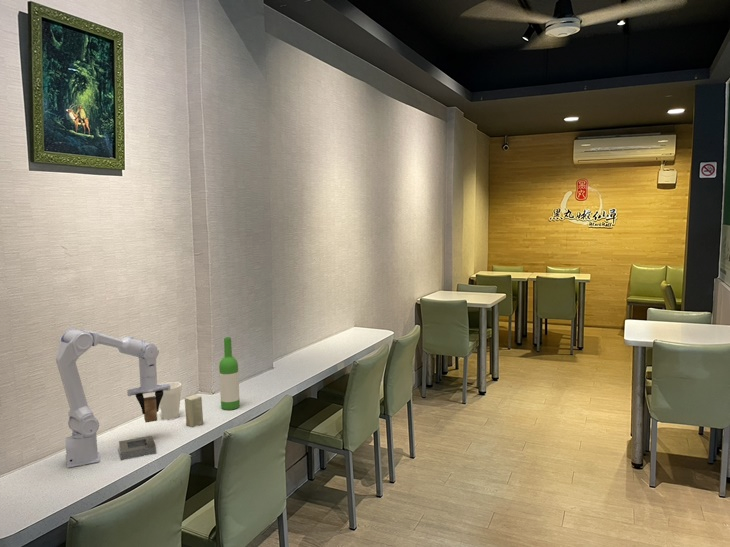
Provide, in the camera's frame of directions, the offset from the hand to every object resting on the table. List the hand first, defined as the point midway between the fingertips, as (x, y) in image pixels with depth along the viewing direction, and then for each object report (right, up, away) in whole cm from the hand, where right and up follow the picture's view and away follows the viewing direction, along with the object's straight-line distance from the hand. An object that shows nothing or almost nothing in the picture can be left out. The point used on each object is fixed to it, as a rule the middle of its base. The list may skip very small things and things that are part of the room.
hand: (150, 412), depth 204 cm
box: (+12, -9, +14) cm, 20 cm away
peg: (0, -3, 0) cm, 3 cm away
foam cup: (-1, -8, +23) cm, 25 cm away
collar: (-1, -11, -10) cm, 15 cm away
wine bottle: (+21, -6, +33) cm, 40 cm away
